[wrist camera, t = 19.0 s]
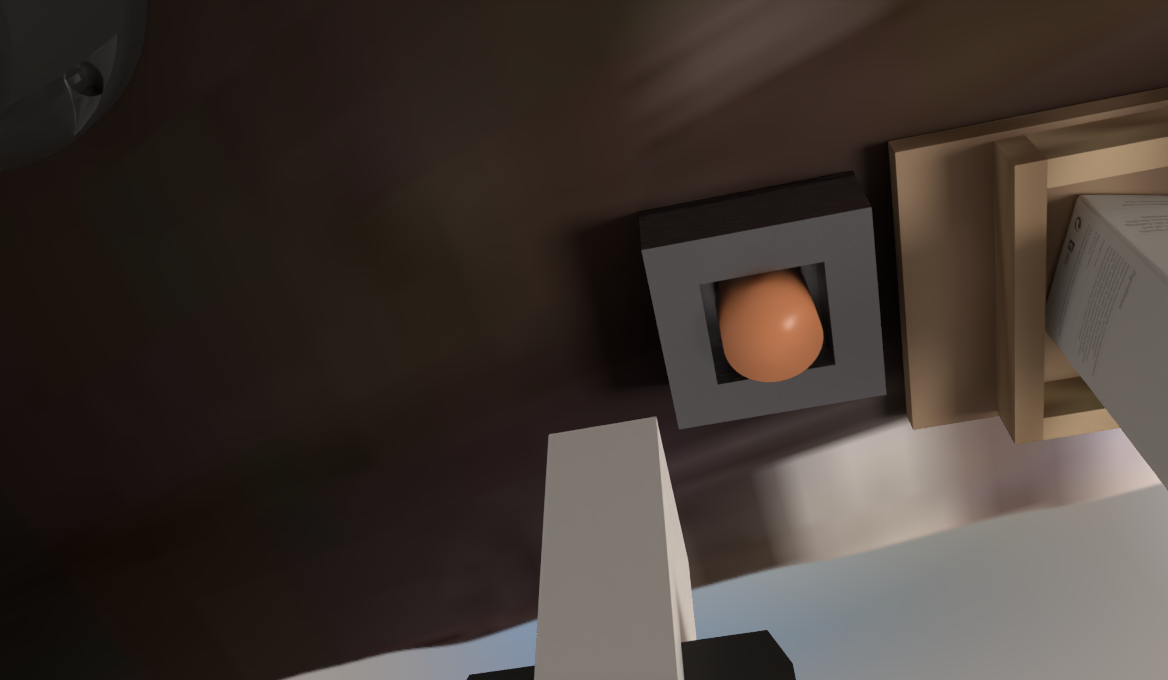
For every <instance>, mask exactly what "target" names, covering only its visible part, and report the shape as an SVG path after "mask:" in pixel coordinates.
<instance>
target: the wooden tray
mask: <svg viewBox="0 0 1168 680" xmlns="http://www.w3.org/2000/svg"><path fill="white" fill-rule="evenodd" d="M888 147H889V161H890V176H891V191H892V205H893V220H894V235H895V249H896V264H897V279H898V293H899V308H900V322H901V337H902V352H903V366H904V381H905V396H906V410H907V416H908V419H909V421H910V423H911V426H912V428H913V430H915V429H921V428H927V427H934V426H940V425H946V424H952V423H958V422H964V421H971V420H977V419H983V418H989V417H995V416H1000V418H1001V420H1002V421H1003V423H1004V425H1005V427H1006V429H1007V431H1008V432H1009V434H1010V436H1011V438H1012V440H1013V442H1014V443H1015V444H1022V443H1028V442H1034V441H1041V440H1047V439H1053V438H1060V437H1066V436H1072V435H1078V434H1085V433H1091V432H1097V431H1104V430H1110V429H1116V428H1120V427H1119V425H1118V424H1117V423H1116V422H1115V420H1114V419H1113V418H1112V417H1111V415H1110V414H1109V413H1108V411H1107V410H1106V409H1105V407H1104V406H1103V405H1102V403H1101V402H1100V401H1099V400H1098V398H1097V397H1096V396H1095V394H1094V393H1093V391H1092V390H1091V389H1090V388H1089V386H1088V385H1087V384H1086V382H1085V381H1084V380H1083V379H1082V377H1081V376H1080V375H1079V373H1078V372H1077V371H1076V369H1075V368H1074V367H1073V366H1072V364H1071V363H1070V362H1069V360H1068V359H1067V358H1066V357H1065V355H1064V354H1063V353H1062V351H1061V350H1060V349H1059V347H1058V346H1057V344H1056V343H1055V342H1054V341H1053V339H1052V338H1051V337H1050V336H1049V334H1048V333H1047V332H1046V330H1045V307H1046V304H1047V300H1048V297H1049V294H1050V290H1051V287H1052V283H1053V279H1054V276H1055V272H1056V269H1057V265H1058V262H1059V258H1060V255H1061V251H1062V248H1063V244H1064V241H1065V238H1066V234H1067V231H1068V227H1069V224H1070V221H1071V217H1072V214H1073V210H1074V207H1075V203H1076V200H1077V198H1078V197H1079V196H1080V195H1164V196H1168V87H1165V88H1160V89H1154V90H1149V91H1144V92H1139V93H1134V94H1129V95H1124V96H1118V97H1113V98H1108V99H1103V100H1098V101H1093V102H1088V103H1083V104H1077V105H1072V106H1067V107H1062V108H1057V109H1052V110H1047V111H1041V112H1036V113H1031V114H1026V115H1021V116H1016V117H1011V118H1005V119H1000V120H995V121H990V122H985V123H980V124H975V125H970V126H964V127H959V128H954V129H949V130H944V131H939V132H934V133H928V134H923V135H918V136H913V137H908V138H903V139H898V140H893V141H888Z"/></svg>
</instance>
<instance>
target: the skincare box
mask: <svg viewBox="0 0 1168 680" xmlns="http://www.w3.org/2000/svg"><path fill="white" fill-rule="evenodd" d="M1045 330H1046V332H1047V333H1048V334H1049V336H1050V337H1051V338H1052V339H1053V341H1054V342H1055V343H1056V344H1057V346H1058V347H1059V349H1060V350H1061V351H1062V353H1063V354H1064V355H1065V357H1066V358H1067V359H1068V360H1069V362H1070V363H1071V364H1072V366H1073V367H1074V368H1075V369H1076V371H1077V372H1078V373H1079V375H1080V376H1081V377H1082V379H1083V380H1084V381H1085V382H1086V384H1087V385H1088V386H1089V388H1090V389H1091V390H1092V391H1093V393H1094V394H1095V396H1096V397H1097V398H1098V400H1099V401H1100V402H1101V403H1102V405H1103V406H1104V407H1105V409H1106V410H1107V411H1108V413H1109V414H1110V415H1111V417H1112V418H1113V419H1114V420H1115V422H1116V423H1117V424H1118V425H1119V427H1120V428H1121V429H1122V431H1123V432H1124V433H1125V435H1126V436H1127V437H1128V439H1129V440H1130V441H1131V443H1132V444H1133V445H1134V446H1135V448H1136V449H1137V450H1138V452H1139V453H1140V454H1141V456H1142V457H1143V458H1144V460H1145V461H1146V462H1147V463H1148V465H1149V466H1150V467H1151V469H1152V470H1153V471H1154V472H1155V474H1156V475H1157V477H1158V478H1159V479H1160V481H1161V482H1162V483H1163V484H1164V486H1165V487H1166V488H1167V490H1168V196H1164V195H1080V196H1079V197H1078V198H1077V200H1076V203H1075V207H1074V210H1073V214H1072V217H1071V221H1070V224H1069V227H1068V231H1067V234H1066V238H1065V241H1064V244H1063V248H1062V251H1061V255H1060V258H1059V262H1058V265H1057V269H1056V272H1055V276H1054V279H1053V283H1052V287H1051V290H1050V294H1049V297H1048V300H1047V304H1046V307H1045Z"/></svg>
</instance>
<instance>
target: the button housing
mask: <svg viewBox="0 0 1168 680" xmlns="http://www.w3.org/2000/svg"><path fill="white" fill-rule="evenodd" d="M638 214H639V226H640V239H641V251H642V255H643V260H644V265H645V270H646V274H647V279H648V284H649V289H650V293H651V298H652V303H653V308H654V312H655V317H656V322H657V327H658V331H659V336H660V341H661V346H662V350H663V355H664V360H665V365H666V370H667V374H668V379H669V384H670V389H671V393H672V398H673V403H674V408H675V412H676V417H677V422H678V427H679V429H684V428H690V427H696V426H702V425H708V424H714V423H720V422H726V421H732V420H738V419H744V418H750V417H756V416H762V415H768V414H774V413H780V412H786V411H792V410H798V409H804V408H810V407H816V406H822V405H828V404H834V403H840V402H846V401H852V400H858V399H864V398H870V397H876V396H882V395H887V394H886V381H885V369H884V356H883V344H882V331H881V319H880V306H879V294H878V281H877V269H876V256H875V244H874V231H873V218H872V207H871V205H870V203H869V201H868V199H867V197H866V195H865V193H864V191H863V190H862V188H861V186H860V184H859V182H858V180H857V178H856V176H855V174H854V172H853V171H850V172H845V173H840V174H834V175H829V176H824V177H819V178H814V179H808V180H803V181H798V182H793V183H788V184H782V185H777V186H772V187H767V188H762V189H756V190H751V191H746V192H741V193H736V194H730V195H725V196H720V197H715V198H710V199H704V200H699V201H694V202H689V203H683V204H678V205H673V206H668V207H663V208H657V209H652V210H647V211H642V212H638ZM793 267H797V268H798V269H799V270H800V272H801V273H802V274H803V276H804V278H805V280H806V282H807V285H808V288H809V291H810V294H811V296H812V299H813V302H814V305H815V308H816V311H817V314H818V317H819V320H820V322H821V325H822V329H823V344H822V348H821V350H820V353H819V355H818V356H817V358H816V360H815V361H814V362H813V363H812V364H811V365H810V366H809V367H808V368H807V369H806V370H804V371H803V372H802V373H800V374H798V375H797V376H794V377H792V378H790V379H787V380H783V381H778V382H760V381H755V380H752V379H749V378H747V377H745V376H743V375H741V374H740V373H738V372H737V371H736V370H735V369H734V368H733V367H732V366H731V365H730V363H729V362H728V360H727V358H726V356H725V353H724V348H723V343H722V338H721V332H720V327H719V322H718V317H717V311H716V306H715V294H716V290H717V287H718V285H719V283H720V281H721V280H727V279H732V278H738V277H743V276H749V275H754V274H760V273H765V272H771V271H776V270H782V269H787V268H793Z"/></svg>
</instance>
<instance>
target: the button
mask: <svg viewBox="0 0 1168 680" xmlns="http://www.w3.org/2000/svg"><path fill="white" fill-rule="evenodd" d="M715 306H716V311H717V317H718V322H719V327H720V332H721V338H722V343H723V348H724V353H725V356H726V358H727V360H728V362H729V363H730V365H731V366H732V367H733V368H734V369H735V370H736V371H737V372H738V373H740V374H741V375H743V376H745V377H747V378H749V379H752V380H755V381H760V382H778V381H783V380H787V379H790V378H792V377H794V376H797V375H798V374H800V373H802V372H803V371H804V370H806V369H807V368H808V367H809V366H810V365H811V364H812V363H813V362H814V361H815V360H816V358H817V356H818V355H819V353H820V350H821V348H822V344H823V329H822V325H821V322H820V320H819V317H818V314H817V311H816V308H815V305H814V302H813V299H812V296H811V294H810V291H809V288H808V285H807V282H806V280H805V278H804V276H803V274H802V273H801V272H800V270H799V269H798V268H797V267H793V268H787V269H782V270H776V271H771V272H765V273H760V274H754V275H749V276H743V277H738V278H732V279H727V280H721V281H720V283H719V285H718V287H717V290H716V294H715Z"/></svg>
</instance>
